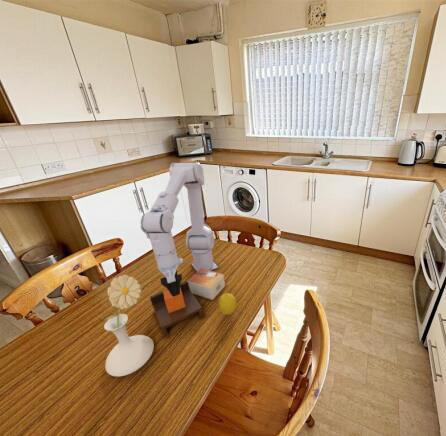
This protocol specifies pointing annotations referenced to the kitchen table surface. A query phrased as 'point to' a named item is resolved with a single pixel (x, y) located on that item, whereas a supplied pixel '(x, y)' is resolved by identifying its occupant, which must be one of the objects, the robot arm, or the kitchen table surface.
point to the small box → (206, 283)
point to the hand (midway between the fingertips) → (174, 287)
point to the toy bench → (178, 315)
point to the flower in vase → (128, 346)
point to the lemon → (227, 304)
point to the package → (173, 301)
